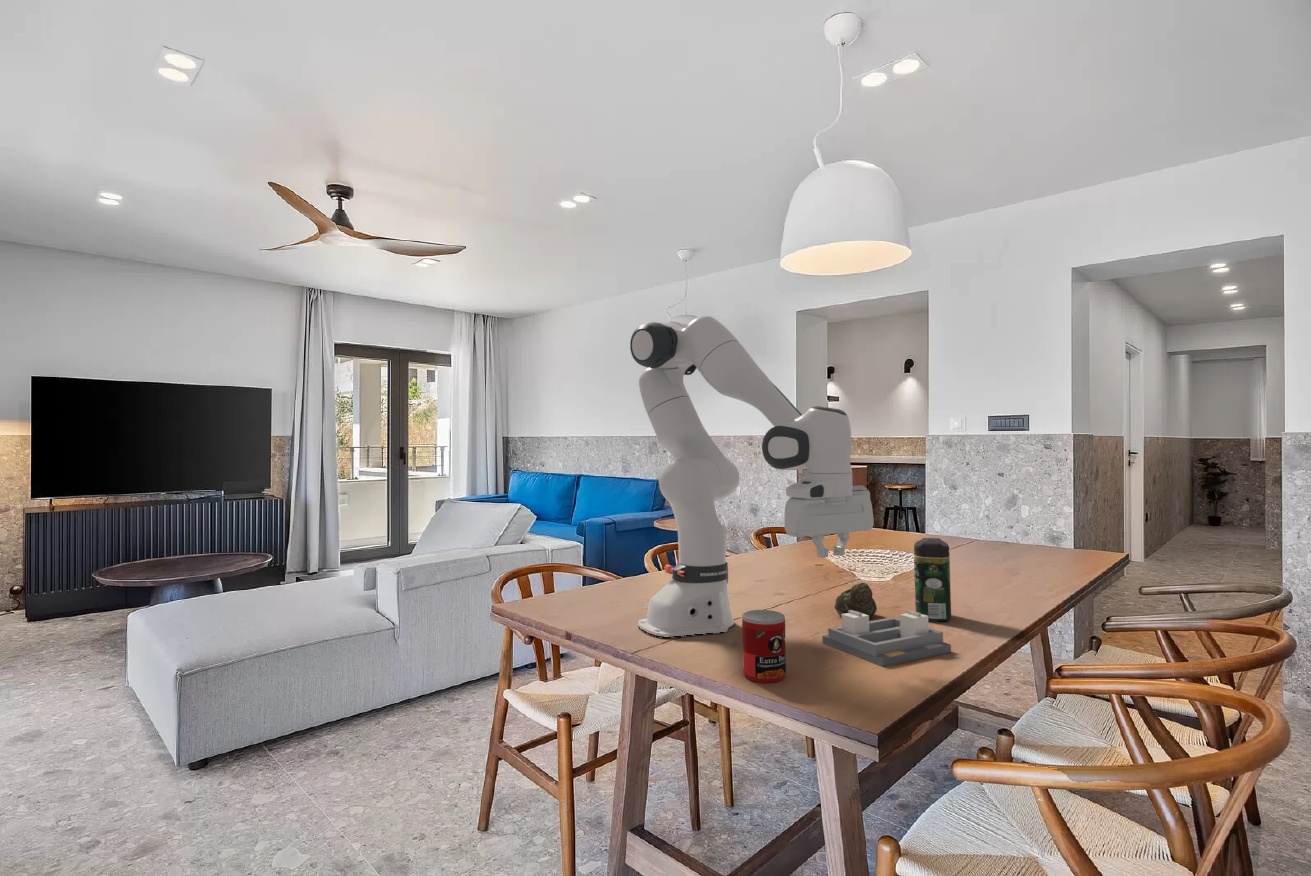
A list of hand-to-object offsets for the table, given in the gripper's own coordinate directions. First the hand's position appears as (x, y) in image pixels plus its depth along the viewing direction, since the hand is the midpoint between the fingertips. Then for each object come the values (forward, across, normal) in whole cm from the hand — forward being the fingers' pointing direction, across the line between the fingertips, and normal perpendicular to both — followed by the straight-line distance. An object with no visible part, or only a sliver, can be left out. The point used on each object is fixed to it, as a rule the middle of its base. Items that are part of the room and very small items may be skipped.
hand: (830, 556), depth 135 cm
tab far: (+18, -6, 0) cm, 19 cm away
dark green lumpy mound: (+19, -24, -20) cm, 37 cm away
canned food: (+19, +20, +5) cm, 28 cm away
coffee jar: (+19, -38, -9) cm, 44 cm away
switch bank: (+19, -11, +3) cm, 22 cm away
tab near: (+18, -16, +6) cm, 24 cm away
